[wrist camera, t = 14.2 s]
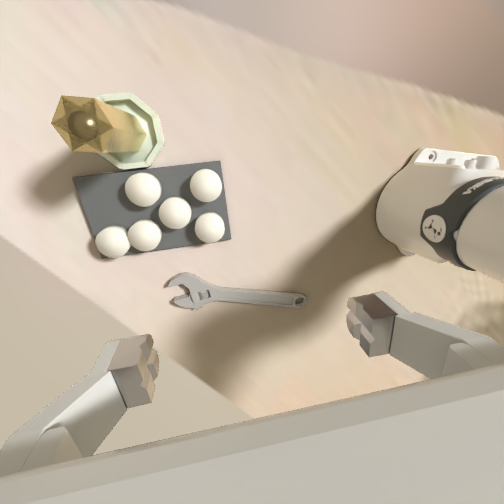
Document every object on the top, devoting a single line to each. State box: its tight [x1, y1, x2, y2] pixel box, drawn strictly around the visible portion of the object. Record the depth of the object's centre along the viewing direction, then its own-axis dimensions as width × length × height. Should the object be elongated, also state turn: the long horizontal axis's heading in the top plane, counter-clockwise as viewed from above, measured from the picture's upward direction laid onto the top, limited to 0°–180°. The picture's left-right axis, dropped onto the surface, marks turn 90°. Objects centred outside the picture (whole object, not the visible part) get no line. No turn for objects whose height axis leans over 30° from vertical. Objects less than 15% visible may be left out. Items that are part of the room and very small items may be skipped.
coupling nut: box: [51, 96, 147, 153], centre depth 27 cm, size 4×5×13 cm
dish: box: [96, 92, 165, 170], centre depth 33 cm, size 9×9×2 cm
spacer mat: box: [72, 161, 231, 258], centre depth 37 cm, size 20×12×3 cm, turn 96°
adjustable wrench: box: [168, 272, 307, 310], centre depth 46 cm, size 25×6×2 cm, turn 74°
